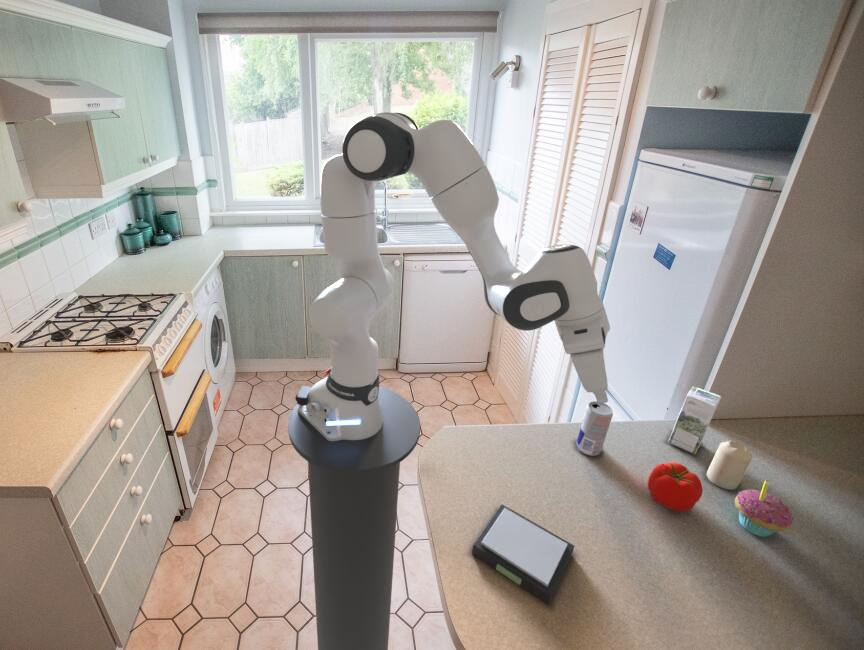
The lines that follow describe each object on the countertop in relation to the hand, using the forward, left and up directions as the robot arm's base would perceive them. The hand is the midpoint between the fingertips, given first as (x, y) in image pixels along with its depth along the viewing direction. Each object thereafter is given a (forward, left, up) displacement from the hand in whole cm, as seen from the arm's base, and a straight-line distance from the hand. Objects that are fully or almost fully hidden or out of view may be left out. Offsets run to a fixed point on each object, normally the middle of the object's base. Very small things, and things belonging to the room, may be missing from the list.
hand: (601, 388), depth 88 cm
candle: (+24, +21, -24) cm, 40 cm away
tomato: (+16, +7, -24) cm, 30 cm away
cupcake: (+30, +11, -24) cm, 41 cm away
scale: (-2, -25, -24) cm, 35 cm away
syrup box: (+16, +29, -24) cm, 41 cm away
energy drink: (-1, +12, -24) cm, 27 cm away
